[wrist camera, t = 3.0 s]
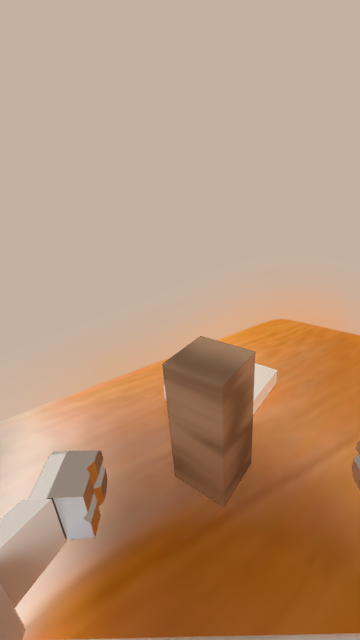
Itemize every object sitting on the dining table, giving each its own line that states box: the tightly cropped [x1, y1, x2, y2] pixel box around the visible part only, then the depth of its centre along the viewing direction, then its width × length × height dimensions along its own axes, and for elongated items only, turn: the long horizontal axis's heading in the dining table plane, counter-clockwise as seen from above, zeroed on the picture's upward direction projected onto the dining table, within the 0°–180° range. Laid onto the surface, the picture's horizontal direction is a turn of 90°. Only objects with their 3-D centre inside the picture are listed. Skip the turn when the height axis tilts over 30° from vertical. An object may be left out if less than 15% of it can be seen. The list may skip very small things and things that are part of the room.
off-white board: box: [163, 363, 277, 415], centre depth 37 cm, size 10×10×2 cm
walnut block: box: [162, 336, 255, 507], centre depth 25 cm, size 5×5×12 cm
